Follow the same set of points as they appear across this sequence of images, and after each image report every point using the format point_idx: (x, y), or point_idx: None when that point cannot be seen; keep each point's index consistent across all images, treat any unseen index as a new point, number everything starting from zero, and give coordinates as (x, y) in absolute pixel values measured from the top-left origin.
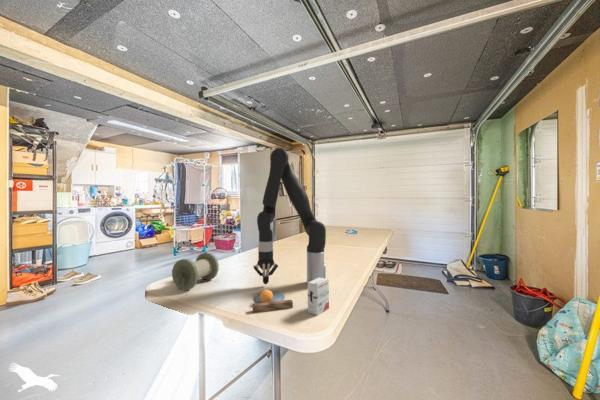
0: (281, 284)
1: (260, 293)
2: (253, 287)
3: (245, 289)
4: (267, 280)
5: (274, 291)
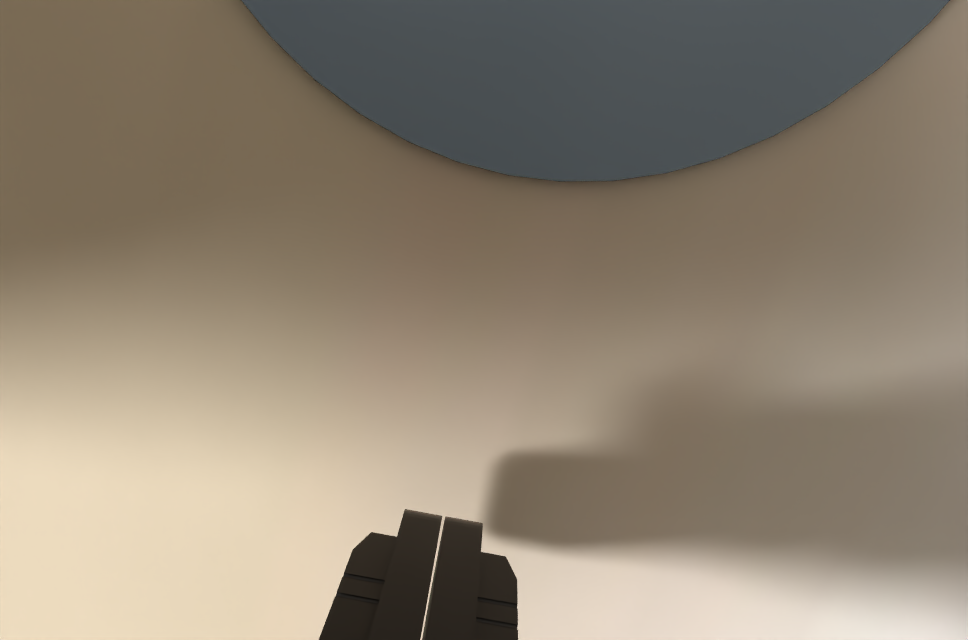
0: (65, 461)
1: (728, 118)
2: (715, 568)
3: (920, 542)
4: (378, 585)
5: (328, 75)
